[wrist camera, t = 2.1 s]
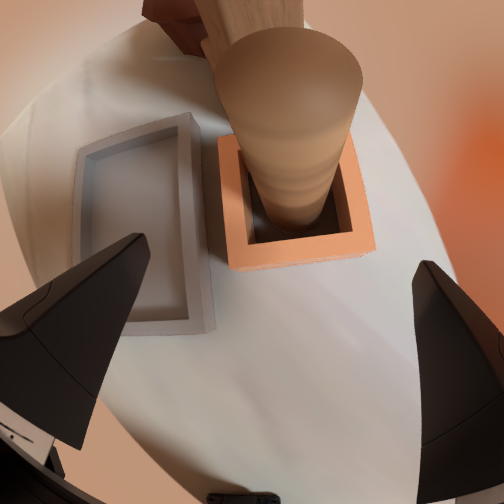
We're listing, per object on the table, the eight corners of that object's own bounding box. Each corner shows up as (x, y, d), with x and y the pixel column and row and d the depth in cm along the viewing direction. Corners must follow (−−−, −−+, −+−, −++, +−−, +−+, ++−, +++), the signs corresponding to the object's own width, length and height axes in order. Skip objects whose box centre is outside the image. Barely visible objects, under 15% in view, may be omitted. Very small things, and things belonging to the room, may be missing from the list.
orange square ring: (360, 256, 19) (376, 249, 15) (241, 272, 20) (229, 268, 16) (338, 147, 20) (346, 120, 16) (230, 161, 21) (217, 137, 17)
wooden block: (211, 72, 23) (138, -86, 5) (253, 52, 22) (211, -109, 5) (256, 137, 21) (184, -85, 3) (305, 114, 21) (299, -104, 3)
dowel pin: (325, 229, 20) (382, 121, 6) (269, 237, 20) (217, 140, 6) (316, 176, 20) (338, 23, 6) (262, 183, 21) (211, 38, 7)
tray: (216, 328, 20) (205, 333, 17) (96, 331, 21) (78, 334, 19) (199, 127, 22) (190, 111, 20) (94, 158, 23) (78, 149, 21)
